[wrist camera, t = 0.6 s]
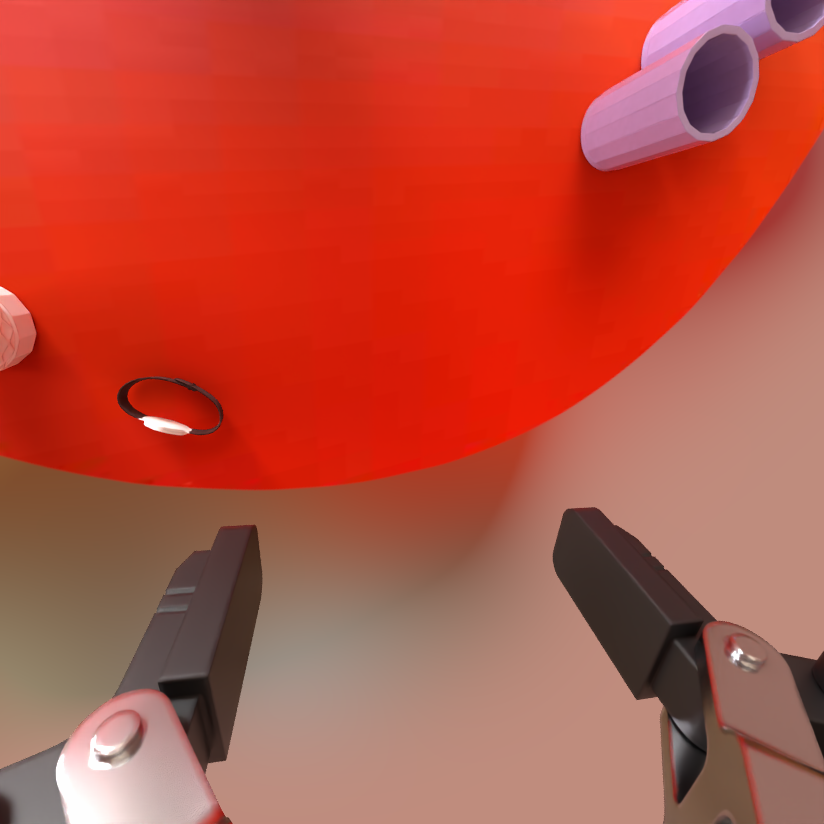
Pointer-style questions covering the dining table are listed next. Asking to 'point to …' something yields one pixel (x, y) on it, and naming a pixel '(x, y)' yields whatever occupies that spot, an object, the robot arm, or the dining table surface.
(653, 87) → the end cup
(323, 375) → the dining table surface
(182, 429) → the watch
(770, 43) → the middle cup
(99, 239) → the dining table surface
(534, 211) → the dining table surface
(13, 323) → the white cup
